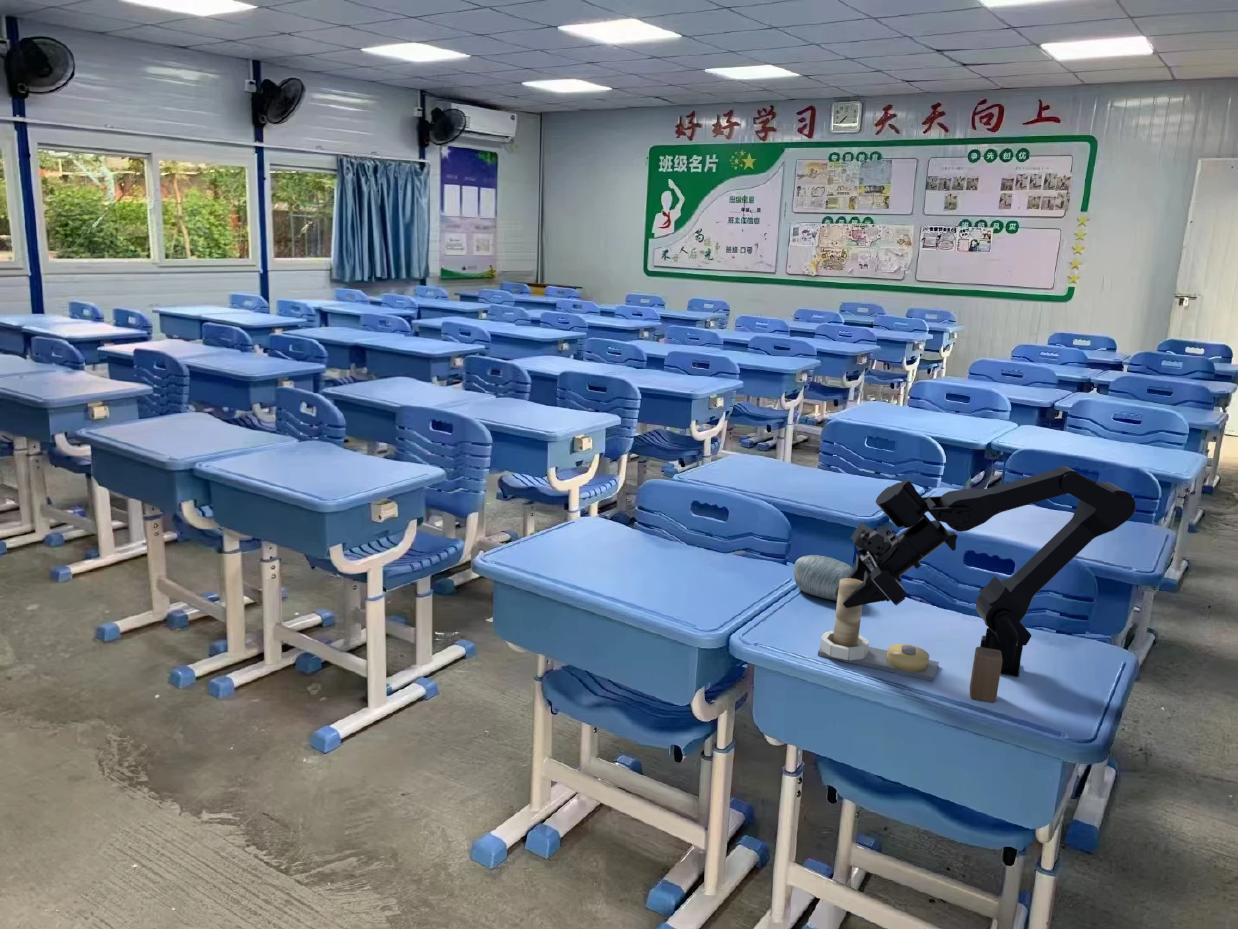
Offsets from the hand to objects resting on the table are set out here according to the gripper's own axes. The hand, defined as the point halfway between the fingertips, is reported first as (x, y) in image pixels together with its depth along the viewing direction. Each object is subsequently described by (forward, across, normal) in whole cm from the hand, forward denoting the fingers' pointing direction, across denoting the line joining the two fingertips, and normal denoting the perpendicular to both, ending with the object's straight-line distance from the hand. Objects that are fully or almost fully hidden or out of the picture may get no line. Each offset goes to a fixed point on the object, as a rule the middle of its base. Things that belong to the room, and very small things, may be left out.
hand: (842, 600), depth 169 cm
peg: (+6, 0, +8) cm, 10 cm away
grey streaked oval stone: (+7, -29, +8) cm, 31 cm away
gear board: (+2, +2, +12) cm, 13 cm away
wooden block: (-8, +12, +23) cm, 28 cm away
